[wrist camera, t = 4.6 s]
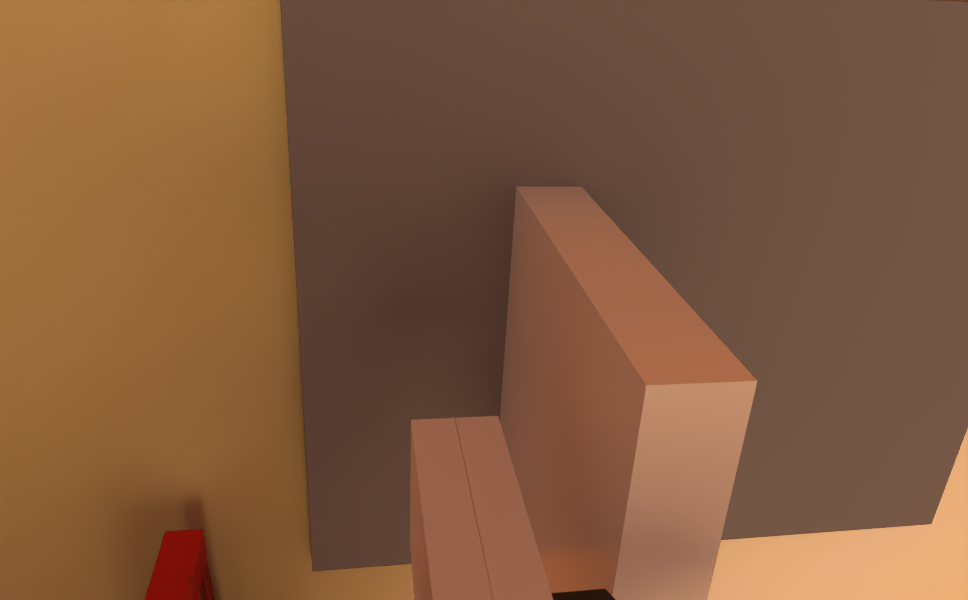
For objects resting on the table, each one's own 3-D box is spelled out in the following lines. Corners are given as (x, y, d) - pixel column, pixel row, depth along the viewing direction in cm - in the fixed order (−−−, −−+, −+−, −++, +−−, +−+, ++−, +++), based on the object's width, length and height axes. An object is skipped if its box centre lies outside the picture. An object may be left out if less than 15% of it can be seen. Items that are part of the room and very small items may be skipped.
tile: (498, 432, 21) (589, 734, 13) (516, 186, 18) (646, 386, 10) (560, 429, 22) (685, 724, 14) (587, 186, 19) (767, 379, 11)
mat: (313, 556, 23) (312, 571, 22) (280, -32, 16) (278, -30, 16) (919, 512, 26) (931, 523, 26) (1103, 7, 19) (1124, 9, 19)
